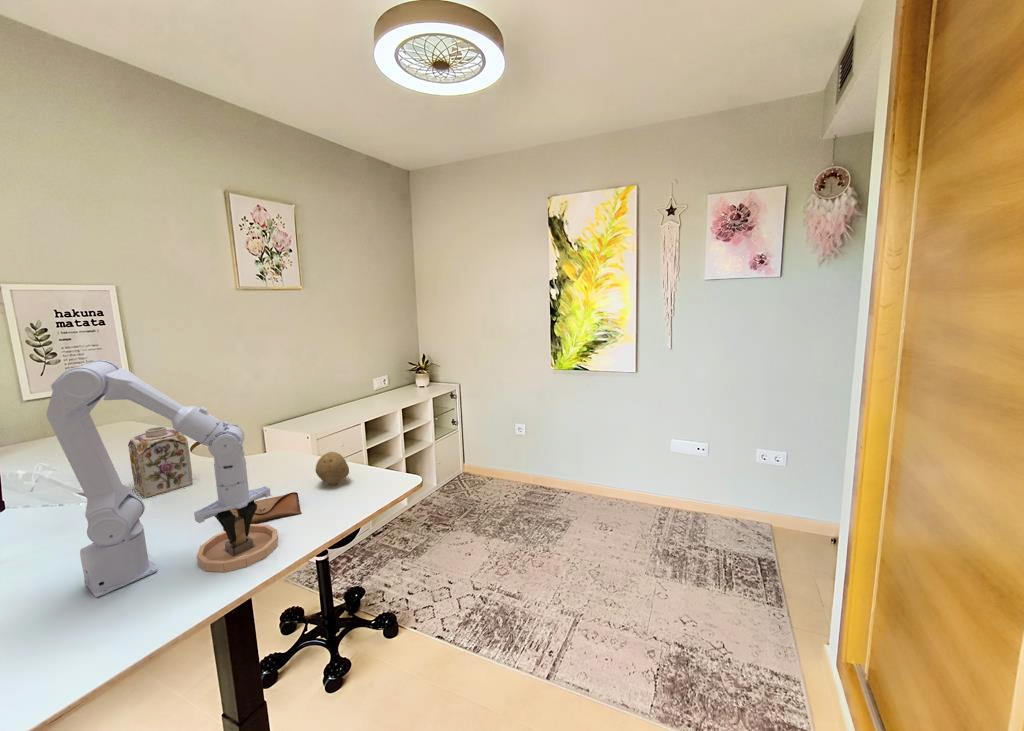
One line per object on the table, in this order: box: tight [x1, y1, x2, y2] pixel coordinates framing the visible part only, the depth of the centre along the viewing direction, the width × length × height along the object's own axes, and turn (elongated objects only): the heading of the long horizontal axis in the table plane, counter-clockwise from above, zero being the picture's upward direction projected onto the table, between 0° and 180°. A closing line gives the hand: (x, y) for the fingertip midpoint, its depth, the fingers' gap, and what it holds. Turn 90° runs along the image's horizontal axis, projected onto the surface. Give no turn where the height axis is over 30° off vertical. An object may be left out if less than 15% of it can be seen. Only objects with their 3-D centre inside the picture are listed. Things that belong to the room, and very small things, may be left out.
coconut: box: [315, 451, 350, 486], centre depth 128 cm, size 9×9×10 cm
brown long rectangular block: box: [232, 516, 246, 546], centre depth 95 cm, size 2×2×7 cm
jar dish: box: [196, 523, 279, 573], centre depth 95 cm, size 15×15×2 cm
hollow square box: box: [223, 536, 255, 557], centre depth 95 cm, size 5×5×2 cm
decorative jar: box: [127, 426, 193, 499], centre depth 125 cm, size 12×12×18 cm
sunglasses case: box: [222, 491, 302, 532], centre depth 110 cm, size 18×7×7 cm, turn 124°
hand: (238, 537), depth 95 cm, fingers closed on brown long rectangular block, 2 cm apart
